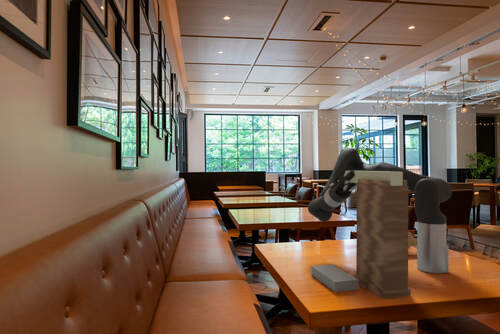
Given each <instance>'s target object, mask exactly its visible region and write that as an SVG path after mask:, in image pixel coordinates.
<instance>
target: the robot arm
mask: <svg viewBox="0 0 500 334" xmlns="http://www.w3.org/2000/svg"><path fill="white" fill-rule="evenodd" d="M346 171H350V172H349V173H348V174H347V175H346ZM354 171H389V172H403V180H407V185H408V192H412V193H413V197H414V198H413V199H414V201H413V202H414V212H415V213H414V214H415V215H416V218H417V219H416V220H417V222H416V223H417V224H416V226H417V229H416V230H417V232H416V235H417V236H416V237H417V238H416V239H417V245H416V246H417V247H416V251H417V256H416V257H417V258H416V259H417V261H416V263H417V264H416V265H417V267H416V268H417V269H418V270H420V271H421V272H426V273H430V274H445V273H447V274H449V273H450V272H449V270H450V268H449V265H450V262H449V260H450V259H449V257H450V256H449V254H450V252H449V249H450V247H449V245H448V244H447V216H446V215H445V214H444V213H442V212H441V210H440V204H442V203H444V202H446V201H448V200H449V199H450V198H451V197H452V194H453V190H452V187H451V185H450V184H449V183H448V182H447V181H446V180H444V179H442V178H438V177H433V176H429V175H423V174H419V173H416V172H414V171H411V170H409V169H405V168H403V167H400V166H398V165H394V164H392V163H388V162H385V161H384V162H383V161H382V162H376V163H374V164H369V163H367V162H365V161H363V160H362V158H361V155H360V154H359V152H358V150H357V149H356V148H355V147H347V148H345V149H342V150H341V151H340V153H339V155H338V157H337V159H336V162H335V165H334V167H333V170H332V172H331V175H330V177H329V178H328V181H327V182H326V184H325V186H324V188H323V190H322V191H321V192H320V196H319V197H317V198H314V199H313V200H312V201H310V202H309V204H308V206H307V211H308V213H309V214H310V215H312V216H313V217H314V218H316V219H318V221H320V222H322V223H327V222H328V221H330V220H331V218H332V216H333V213H334V210H335V209H336V208H337V207H339V206H341V205H342V203H344V202H345V201H346V200H347V199H349V197H351V195H352V192H353V191H354V190H356V189H357V183H352V182H349V181H350V180H351V179H352V178H353V177H354V176H355V174H354Z"/></svg>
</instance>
